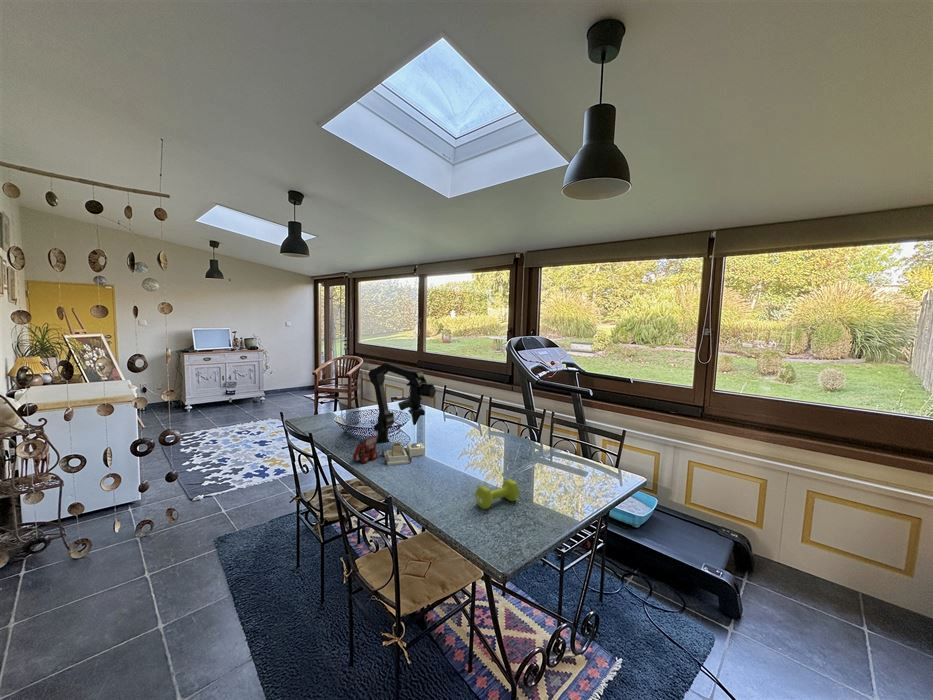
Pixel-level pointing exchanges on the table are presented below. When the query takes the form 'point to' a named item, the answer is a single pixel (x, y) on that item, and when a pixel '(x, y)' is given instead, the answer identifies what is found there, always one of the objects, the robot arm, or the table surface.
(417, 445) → the plunger
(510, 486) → the dumbbell
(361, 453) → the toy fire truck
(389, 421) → the robot arm
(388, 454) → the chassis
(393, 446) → the engine block
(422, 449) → the plunger housing
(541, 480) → the table surface
